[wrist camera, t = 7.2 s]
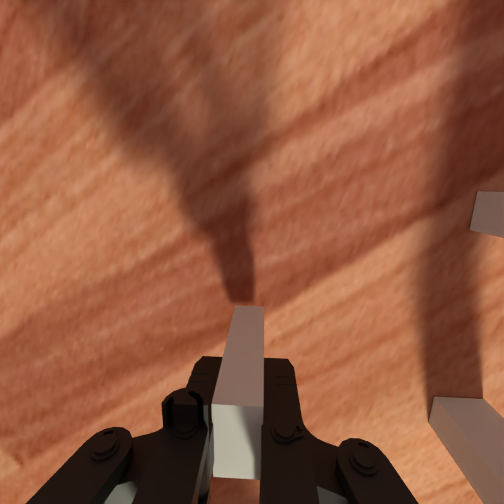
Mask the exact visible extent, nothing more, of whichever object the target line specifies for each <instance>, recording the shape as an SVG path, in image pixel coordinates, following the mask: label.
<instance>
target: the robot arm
mask: <svg viewBox="0 0 504 504" xmlns="http://www.w3.org/2000/svg"><path fill="white" fill-rule="evenodd" d="M161 404H162V417H163V428H162V429H160V430H158V431H156V432H153V433H150V434H146V435H142V436H138V437H134V438H132V436H131V434H130V432H129V431H128V430H126V429H125V428H123V427H111V428H107V429H104V430H102V431H100V432H98V433H96V434H94V435H93V436H92V437H91V438H89V439H88V440H87V441H86V442H85V443H84V444H83V445H82V446H81V447H80V448H79V449H78V450H77V451H76V452H75V453H74V454H73V455H72V456H71V457H70V458H69V459H68V460H67V461H66V462H65V464H64V465H63V466H62V467H61V468H60V469H59V470H58V471H57V472H56V473H55V474H54V475H53V476H52V477H51V478H50V479H49V480H48V481H47V482H46V483H45V484H44V485H43V486H42V487H41V488H40V489H39V490H38V491H37V493H36V494H35V495H34V496H33V497H32V498H31V499H30V500H29V501H28V502H27V503H26V504H209V503H210V482H211V476H212V471H213V477H224V478H240V479H257V480H260V501H259V504H418V502H417V501H416V499H415V498H414V496H413V495H412V493H411V492H410V490H409V489H408V488H407V486H406V485H405V483H404V482H403V480H402V479H401V477H400V476H399V474H398V473H397V472H396V470H395V469H394V467H393V466H392V464H391V463H390V461H389V460H388V458H387V457H386V456H385V455H384V454H383V453H382V451H381V450H380V449H379V448H378V447H376V446H375V445H373V444H372V443H370V442H368V441H365V440H362V439H359V438H349V439H347V440H345V441H342V443H341V444H340V445H339V447H337V446H334V445H332V444H329V443H326V442H324V441H321V440H319V439H317V438H316V437H315V436H313V435H312V434H311V433H310V432H309V431H308V430H307V429H306V427H305V425H304V424H303V420H302V416H301V410H300V403H299V397H298V391H297V384H296V379H295V371H294V367H293V365H292V364H291V363H290V361H289V360H288V359H280V358H264V306H236V305H235V309H234V313H233V317H232V321H231V326H230V330H229V334H228V338H227V342H226V346H225V350H224V354H223V357H211V356H203V357H202V358H201V359H200V360H199V361H197V362H196V363H195V365H194V368H193V370H192V373H191V376H190V378H189V381H188V383H187V386H186V388H181V389H179V390H176V391H173V392H172V393H171V394H169V395H168V396H166V398H165V399H164V400H163V402H162V403H161Z"/></svg>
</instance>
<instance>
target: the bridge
mask: <svg viewBox="0 0 504 504" xmlns="http://www.w3.org/2000/svg"><path fill="white" fill-rule="evenodd" d="M470 230H472V231H476V232H480V233H485V234H489V235H494V236H498V237H502V238H504V192H487V191H478V192H477V196H476V201H475V206H474V211H473V215H472V220H471V225H470ZM429 424H430V426H431V427H432V429H433V430H434V431H435V433H436V434H437V436H438V437H439V439H440V440H441V442H442V443H443V445H444V446H445V448H446V449H447V450H448V452H449V453H450V455H451V456H452V458H453V459H454V461H455V462H456V464H457V465H458V467H459V468H460V470H461V471H462V472H463V474H464V475H465V477H466V478H467V480H468V481H469V483H470V484H471V486H472V487H473V489H474V490H475V491H476V493H477V494H478V496H479V497H480V499H481V500H482V502H483V503H484V504H504V418H503V417H502V416H501V415H500V414H499V413H498V412H497V411H496V410H495V409H494V408H493V407H492V406H491V405H490V404H489V403H488V402H486V401H485V400H484V399H476V398H454V397H434V399H433V404H432V409H431V414H430V418H429Z"/></svg>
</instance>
